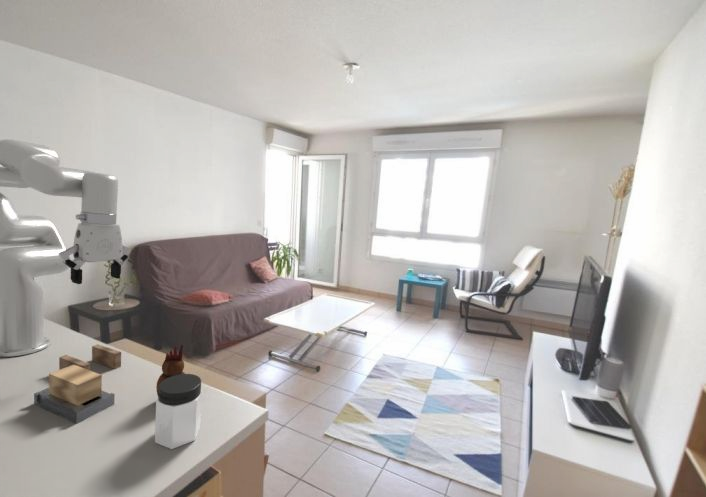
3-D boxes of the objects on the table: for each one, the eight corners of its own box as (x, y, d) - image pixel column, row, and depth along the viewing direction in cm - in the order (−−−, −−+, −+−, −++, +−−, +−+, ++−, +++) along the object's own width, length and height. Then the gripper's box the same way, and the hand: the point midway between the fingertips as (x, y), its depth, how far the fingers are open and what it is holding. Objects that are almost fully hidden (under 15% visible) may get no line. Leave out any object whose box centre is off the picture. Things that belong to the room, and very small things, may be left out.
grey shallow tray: (34, 404, 75) (34, 393, 74) (73, 387, 82) (73, 377, 82) (76, 423, 70) (76, 412, 69) (114, 404, 77) (114, 394, 77)
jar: (145, 440, 67) (147, 387, 66) (177, 418, 75) (179, 369, 73) (179, 454, 64) (181, 398, 63) (208, 429, 72) (211, 379, 71)
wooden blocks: (59, 372, 88) (59, 357, 87) (97, 358, 97) (97, 344, 97) (83, 382, 85) (83, 366, 84) (120, 366, 94) (121, 352, 93)
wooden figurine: (191, 396, 83) (193, 341, 81) (177, 410, 77) (179, 351, 76) (167, 392, 84) (169, 338, 82) (151, 405, 78) (152, 347, 76)
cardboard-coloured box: (49, 393, 75) (49, 373, 74) (73, 383, 79) (73, 364, 79) (77, 405, 72) (77, 384, 71) (101, 394, 76) (101, 374, 76)
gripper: (70, 220, 77) (68, 288, 79) (139, 221, 93) (136, 278, 96) (51, 216, 80) (50, 282, 82) (122, 218, 96) (120, 273, 98)
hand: (96, 280), depth 89 cm, fingers open, 9 cm apart
